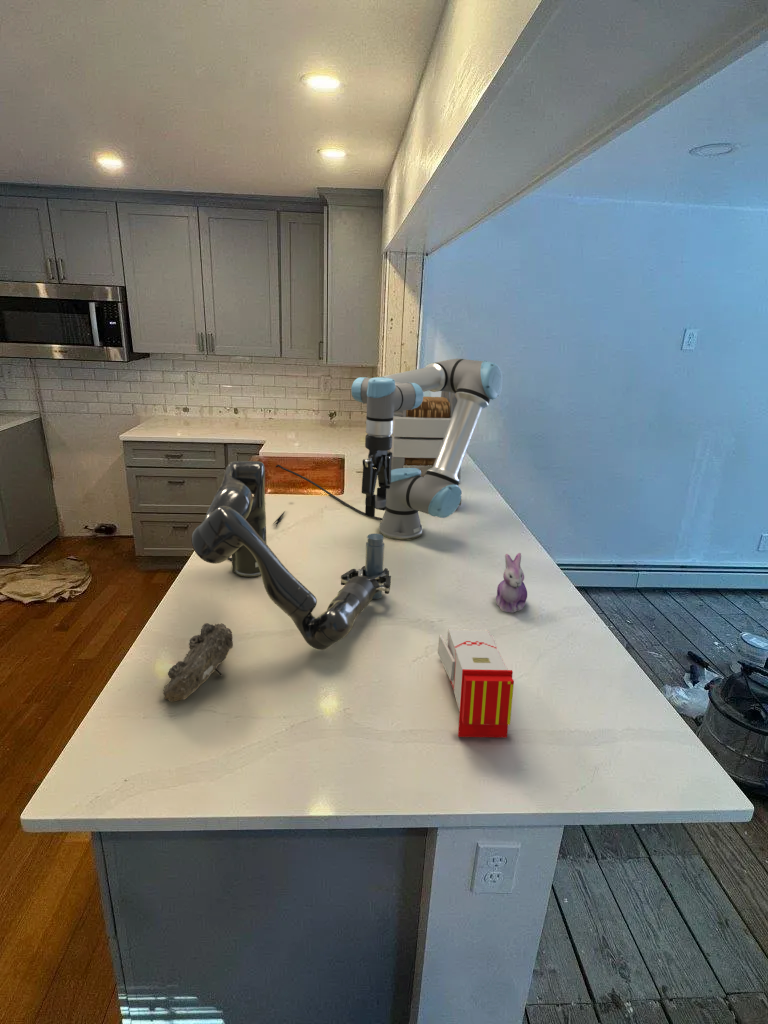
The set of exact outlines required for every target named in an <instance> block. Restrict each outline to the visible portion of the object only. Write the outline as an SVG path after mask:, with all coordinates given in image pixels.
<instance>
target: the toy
mask: <svg viewBox="0 0 768 1024" xmlns="http://www.w3.org/2000/svg"><path fill="white" fill-rule="evenodd" d="M446 640H447V643H446V641H445V639H444V636H443V635H442V634H439V637H438V646H437V656H438V657H439V659H440V661H441V663H442V666H443V668H444V670H445V672H446V674H447V677H448V679H449V681H450V684H451V687H452V690H453V693H454V697H455V701H456V705H457V708H458V711H459V714H458V715H459V716H458V730H457V731H458V732H457V737H458V738H508V731H509V726H510V725H511V717H512V707H513V697H514V696H513V695H514V684H515V680H514V679H513V673H514V671H513V670H512V669H508V667H507V665H506V662H505V661H504V659H503V658H502V655H501V653H500V651H499V649H498V647H497V643H496V639H495V637H494V635H493V634H491V632H490V631H489V629H467V628H466V629H465V628H463V629H461V628H460V629H459V628H448V630H447V639H446Z"/></svg>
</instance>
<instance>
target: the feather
mask: <svg viewBox="0 0 768 1024" xmlns="http://www.w3.org/2000/svg"><path fill="white" fill-rule="evenodd" d="M285 512H286V510H285V511H283V513H281V515H279V516H278V518H276V520H275V521H274V522H273V524H272V525H274V524H275V528H277V527H278V525H279V523H280V521H281V519H282V517H283V516H284V514H285Z"/></svg>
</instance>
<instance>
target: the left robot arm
mask: <svg viewBox="0 0 768 1024" xmlns="http://www.w3.org/2000/svg"><path fill="white" fill-rule="evenodd" d="M266 515H267V513H266V467H265V464H264V463H263V462H262V461H259V460H233V461H230V462H229V463H228V464H227V465H226V468H225V470H224V474H223V478H222V480H221V484H220V486H219V487H218V489H217V490H216V492H215V494H214V495H213V497H212V501H211V503H210V505H209V507H208V509H207V512H206V514H205V517H204V518H203V519H202V521H201V522H200V523H199V524H198V525H197V526H196V527H195V528H194V529H193V531H192V533H191V537H190V538H191V545H192V548H193V551H194V552H195V554H196V555H197V556H198V557H199V558H200V559H201V560H202V561H204V562H206V563H209V564H214V565H215V564H217V565H218V564H221V563H223V562H226V560H229V561H231V569H232V572H233V573H235V575H238V576H241V577H244V578H253V577H258V576H261V580H262V584H263V585H264V586H263V587H264V590H265V592H266V594H267V596H268V598H269V599H270V600H271V602H273V603H274V604H275V606H277V607H278V608H279V609H280V610H281V611H282V612H283V613H285V614H286V615H287V616H288V617H289V618H290V619H291V620H292V622H293V623H294V625H295V627H296V628H297V629H298V631H299V633H300V634H301V636H302V638H303V639H304V641H305V642H306V643H307V644H308V645H309V646H310V647H311V648H313V649H315V650H319V651H324V650H326V649H329V648H330V647H331V646H333V645H335V644H337V643H338V642H340V641H341V640H343V639H344V638H346V637H347V636H348V634H350V632H351V631H352V629H353V626H354V623H355V620H356V618H358V616H359V615H360V614H361V613H362V612H363V611H364V610H365V609H366V607H368V605H369V603H370V602H371V601H372V600H373V599H372V598H373V596H374V594H375V593H377V592H379V591H382V592H384V594H385V595H389V594H390V591H391V586H392V576H391V575H390V570H389V568H386V567H385V568H383V572H382V573H381V574H380V575H374V576H372V577H367V576H365V565H363V566H362V567H361V568H359V569H358V570H357V569H356V568H351V569H349V570H348V571H346V572H344V573H343V574H341V575H340V585H342V586H343V587H342V588H341V589H340V590H339V591H338V592H337V595H336V596H335V597H333V599H332V600H331V601H330V603H329V604H328V606H327V608H326V611H324V612H322V614H320V615H318V616H316V617H315V616H314V615H313V613H312V612H313V611H314V610H315V608H316V606H317V603H318V599H317V597H316V596H315V595H314V594H313V592H311V591H310V590H309V589H308V588H307V587H306V586H305V585H304V584H303V583H302V582H300V580H298V579H297V578H296V577H295V576H294V575H293V574H292V573H291V572H290V571H289V570H288V568H287V567H286V566H285V565H284V564H283V563H282V562H281V560H280V559H279V557H278V556H277V555H276V554H275V553H274V551H273V550H272V549H271V548H270V547H269V545H268V544H267V516H266ZM381 585H382V586H381Z"/></svg>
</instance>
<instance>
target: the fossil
mask: <svg viewBox="0 0 768 1024" xmlns="http://www.w3.org/2000/svg"><path fill="white" fill-rule="evenodd" d="M233 638H234V637H233V631H232V630H231V628H229V627H227V626H226V625H225V624H224V623H221V622H220V623H217V624H216V623H215V624H212V623H211V624H210V623H207V622H206V623H203V625H202V626H201V628H200V633H199V634H195V635H192V637H191V638H190V639H189V643H188V645H189V646H188V649H189V650H188V652H187V653H186V654H185V656H184V658H183V661H182V660H179V661H177V662H176V663H175V664H173V665H171V667H170V668H169V669H168V671H167V676H168V677H169V679H170V680H169V681H168V682H167V683H166V684H165V685H164V686H163V688H164V689H163V690H162V691H163V693H162V694H163V697H164V698H163V699H164V700H168V701H169V702H171V703H173V702H176V701H177V702H178V701H182V700H183V701H184V700H186V699H187V698H188V697H189V696H191V694H192V693H194V692H195V691H197V690H198V688H200V687H201V686H202V685H203V684H204V683H205V682H206V681H208V679H209V678H210V676H211V674H212V673H214V672H216V673H217V674H218V675H219V676H223V673H222V672H221V671H220V670H219V669H218V666H219V664H222V663H223V662H224V661H225V660H226V658H227V656H228V654H229V652H230V650H231V649H232V648H233V647H234V641H233Z"/></svg>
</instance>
